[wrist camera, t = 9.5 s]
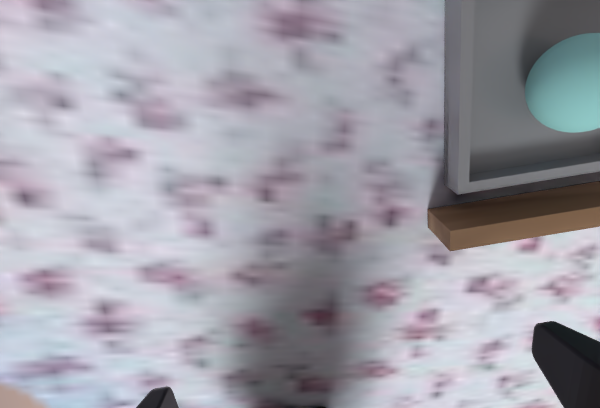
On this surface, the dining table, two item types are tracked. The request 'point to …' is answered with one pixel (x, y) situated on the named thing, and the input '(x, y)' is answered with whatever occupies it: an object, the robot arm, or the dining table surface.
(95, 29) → the dining table surface
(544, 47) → the tray
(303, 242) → the dining table surface
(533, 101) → the ball
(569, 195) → the rail
